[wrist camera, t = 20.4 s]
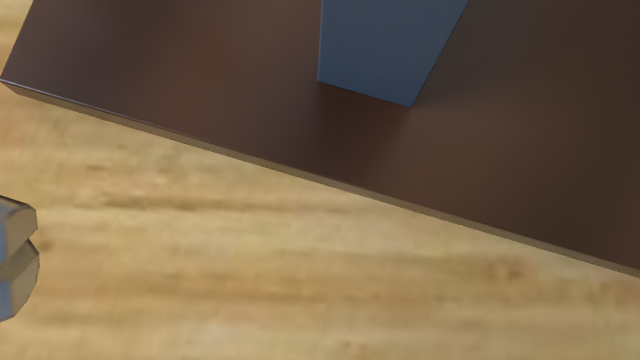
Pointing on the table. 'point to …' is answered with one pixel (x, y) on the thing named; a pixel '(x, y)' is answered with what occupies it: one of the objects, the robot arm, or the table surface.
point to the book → (384, 44)
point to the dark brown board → (378, 107)
